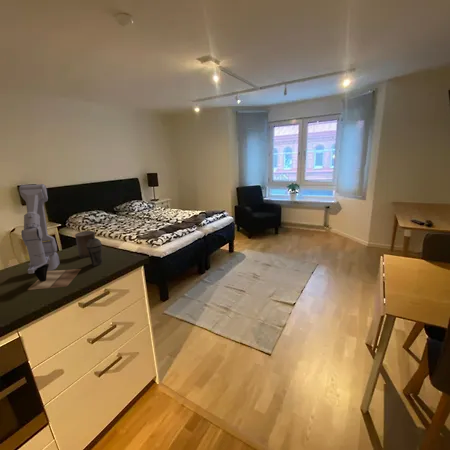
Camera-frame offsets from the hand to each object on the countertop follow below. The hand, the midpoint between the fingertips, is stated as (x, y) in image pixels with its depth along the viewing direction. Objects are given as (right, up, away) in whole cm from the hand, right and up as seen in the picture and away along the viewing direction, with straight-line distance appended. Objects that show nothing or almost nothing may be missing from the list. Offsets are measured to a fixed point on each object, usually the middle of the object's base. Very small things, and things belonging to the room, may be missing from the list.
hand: (43, 280), depth 115 cm
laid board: (+9, 0, +3) cm, 10 cm away
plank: (+1, -1, +2) cm, 2 cm away
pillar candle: (+3, +8, +33) cm, 34 cm away
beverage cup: (+16, +4, +18) cm, 25 cm away
